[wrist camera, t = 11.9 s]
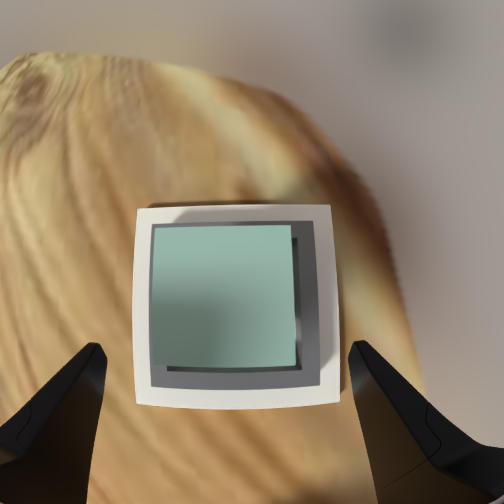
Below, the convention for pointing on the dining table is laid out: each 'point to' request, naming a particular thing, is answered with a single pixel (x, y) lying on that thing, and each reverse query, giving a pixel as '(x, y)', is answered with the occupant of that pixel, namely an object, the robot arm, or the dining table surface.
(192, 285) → the teal green block
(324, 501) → the dining table surface
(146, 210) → the white grey square base
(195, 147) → the dining table surface
